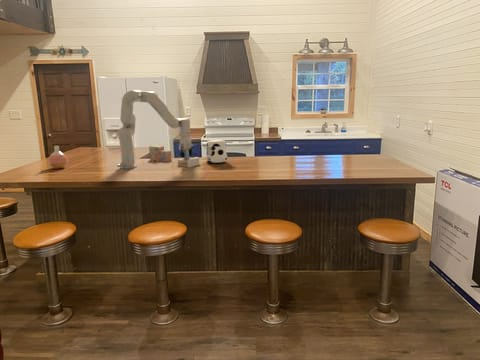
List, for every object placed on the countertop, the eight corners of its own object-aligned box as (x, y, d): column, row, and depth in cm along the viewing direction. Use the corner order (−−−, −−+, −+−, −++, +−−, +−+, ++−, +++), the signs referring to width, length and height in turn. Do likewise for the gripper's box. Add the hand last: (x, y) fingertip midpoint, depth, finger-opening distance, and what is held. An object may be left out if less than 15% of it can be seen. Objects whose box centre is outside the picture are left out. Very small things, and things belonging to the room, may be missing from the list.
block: (188, 166, 272) (188, 160, 270) (177, 165, 276) (177, 159, 275) (195, 164, 280) (195, 158, 279) (185, 163, 285) (185, 157, 284)
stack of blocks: (171, 161, 302) (171, 147, 299) (166, 162, 297) (165, 147, 294) (155, 159, 314) (154, 145, 311) (149, 160, 309) (148, 146, 306)
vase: (60, 170, 269) (57, 147, 265) (45, 169, 271) (42, 146, 267) (72, 166, 282) (69, 144, 278) (57, 166, 284) (54, 144, 280)
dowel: (187, 164, 275) (186, 149, 272) (183, 164, 277) (182, 148, 274) (190, 163, 279) (189, 148, 276) (186, 163, 280) (185, 148, 278)
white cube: (228, 161, 297) (228, 139, 293) (225, 164, 281) (225, 142, 277) (208, 161, 299) (207, 139, 295) (204, 164, 282) (203, 142, 278)
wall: (189, 167, 269) (189, 159, 268) (187, 167, 270) (187, 159, 269) (199, 164, 281) (199, 157, 279) (197, 164, 281) (196, 157, 280)
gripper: (187, 133, 282) (188, 154, 286) (174, 135, 267) (175, 157, 271) (195, 133, 279) (196, 155, 282) (182, 135, 264) (183, 158, 267)
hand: (186, 156), depth 277 cm, fingers open, 9 cm apart
